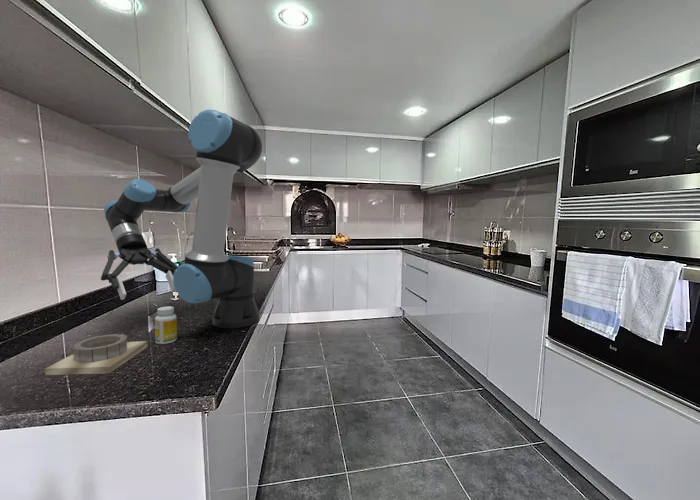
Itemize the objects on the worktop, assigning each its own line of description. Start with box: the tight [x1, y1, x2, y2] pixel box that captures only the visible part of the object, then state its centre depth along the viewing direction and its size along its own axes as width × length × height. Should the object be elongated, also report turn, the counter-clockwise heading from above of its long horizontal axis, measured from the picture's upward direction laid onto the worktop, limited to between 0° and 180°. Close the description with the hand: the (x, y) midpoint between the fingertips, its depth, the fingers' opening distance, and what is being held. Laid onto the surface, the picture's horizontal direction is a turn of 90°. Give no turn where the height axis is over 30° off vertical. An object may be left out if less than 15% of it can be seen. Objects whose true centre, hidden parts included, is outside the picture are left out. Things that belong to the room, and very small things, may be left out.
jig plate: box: [44, 333, 148, 376], centre depth 74 cm, size 13×15×4 cm
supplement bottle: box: [154, 305, 178, 345], centre depth 86 cm, size 5×5×10 cm
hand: (150, 293), depth 90 cm, fingers open, 13 cm apart
